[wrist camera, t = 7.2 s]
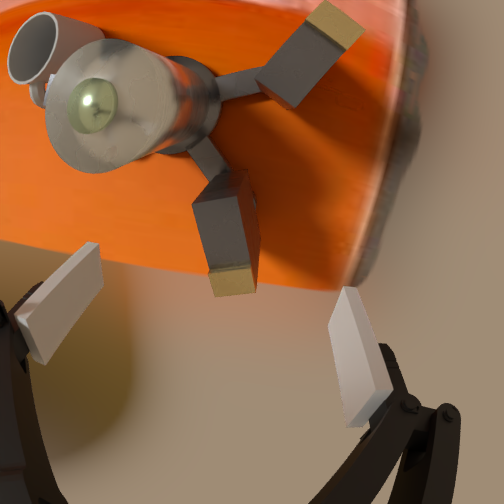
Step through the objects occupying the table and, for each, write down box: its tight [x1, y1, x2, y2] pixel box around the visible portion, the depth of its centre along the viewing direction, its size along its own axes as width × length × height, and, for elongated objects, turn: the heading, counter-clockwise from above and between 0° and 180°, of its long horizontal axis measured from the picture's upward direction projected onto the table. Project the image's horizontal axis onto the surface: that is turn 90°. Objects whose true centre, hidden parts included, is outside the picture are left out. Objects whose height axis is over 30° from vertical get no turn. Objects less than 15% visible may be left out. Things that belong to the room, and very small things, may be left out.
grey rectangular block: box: [254, 0, 365, 110], centre depth 18 cm, size 7×3×12 cm, turn 143°
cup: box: [7, 12, 105, 109], centre depth 19 cm, size 7×10×9 cm
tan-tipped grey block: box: [192, 169, 261, 297], centre depth 25 cm, size 7×3×12 cm, turn 11°
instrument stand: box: [43, 39, 264, 182], centre depth 19 cm, size 13×16×15 cm
